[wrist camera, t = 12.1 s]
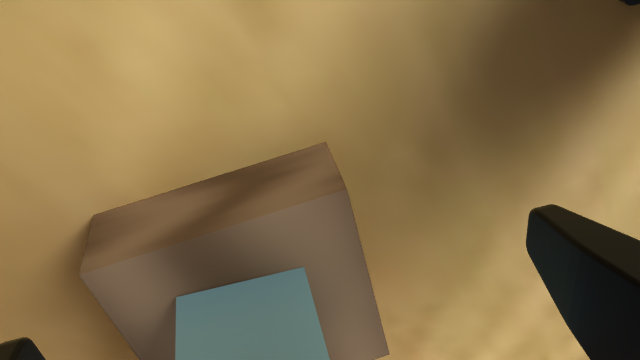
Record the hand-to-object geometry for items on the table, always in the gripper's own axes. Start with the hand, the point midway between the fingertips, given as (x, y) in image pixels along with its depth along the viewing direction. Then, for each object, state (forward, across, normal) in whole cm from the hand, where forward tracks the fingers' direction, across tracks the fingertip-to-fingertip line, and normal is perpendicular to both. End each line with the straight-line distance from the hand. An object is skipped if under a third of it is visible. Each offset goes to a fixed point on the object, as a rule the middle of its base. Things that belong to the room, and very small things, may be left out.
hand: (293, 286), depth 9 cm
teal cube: (+8, +2, +10) cm, 13 cm away
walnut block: (+12, +2, +10) cm, 16 cm away
